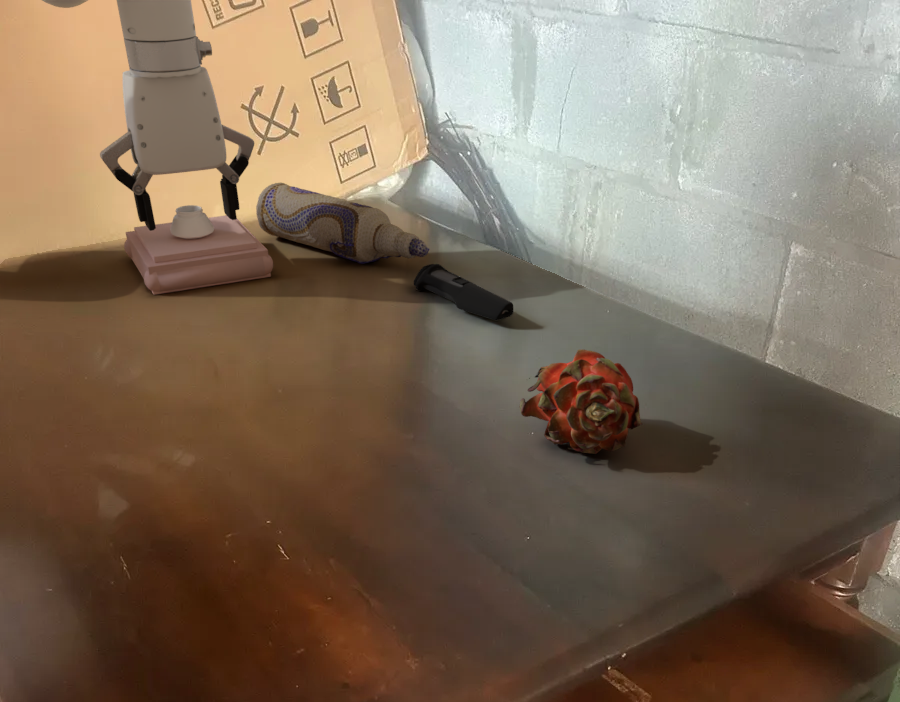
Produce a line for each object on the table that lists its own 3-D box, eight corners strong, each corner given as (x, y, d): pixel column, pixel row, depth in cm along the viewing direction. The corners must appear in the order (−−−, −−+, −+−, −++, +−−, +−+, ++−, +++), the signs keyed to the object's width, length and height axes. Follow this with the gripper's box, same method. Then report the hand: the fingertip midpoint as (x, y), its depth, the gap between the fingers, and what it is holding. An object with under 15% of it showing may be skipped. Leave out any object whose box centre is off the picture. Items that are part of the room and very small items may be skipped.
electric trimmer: (493, 334, 97) (495, 305, 95) (410, 289, 106) (410, 262, 104) (520, 326, 99) (522, 297, 97) (436, 282, 108) (437, 255, 106)
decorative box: (149, 297, 104) (142, 263, 102) (125, 257, 115) (118, 225, 112) (277, 277, 109) (273, 244, 107) (243, 240, 120) (238, 209, 118)
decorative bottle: (255, 242, 120) (248, 188, 115) (296, 228, 124) (291, 176, 120) (405, 286, 107) (403, 227, 103) (444, 269, 112) (445, 212, 108)
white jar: (199, 225, 112) (163, 234, 110) (195, 200, 111) (158, 208, 108) (222, 234, 110) (186, 244, 107) (218, 209, 108) (182, 217, 105)
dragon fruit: (613, 496, 75) (537, 450, 84) (684, 419, 74) (600, 382, 84) (561, 429, 69) (485, 388, 79) (638, 347, 69) (553, 315, 78)
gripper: (233, 46, 104) (253, 205, 114) (74, 56, 98) (111, 222, 108) (251, 56, 98) (270, 221, 109) (85, 68, 92) (122, 241, 103)
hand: (191, 221), depth 109 cm, fingers open, 9 cm apart
